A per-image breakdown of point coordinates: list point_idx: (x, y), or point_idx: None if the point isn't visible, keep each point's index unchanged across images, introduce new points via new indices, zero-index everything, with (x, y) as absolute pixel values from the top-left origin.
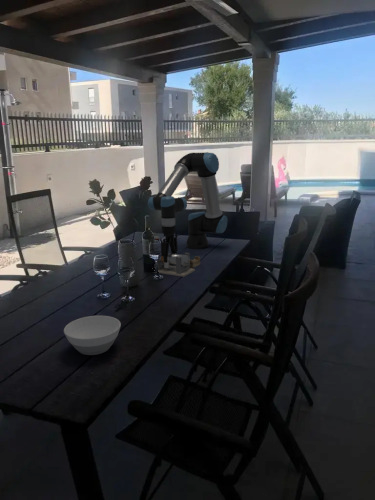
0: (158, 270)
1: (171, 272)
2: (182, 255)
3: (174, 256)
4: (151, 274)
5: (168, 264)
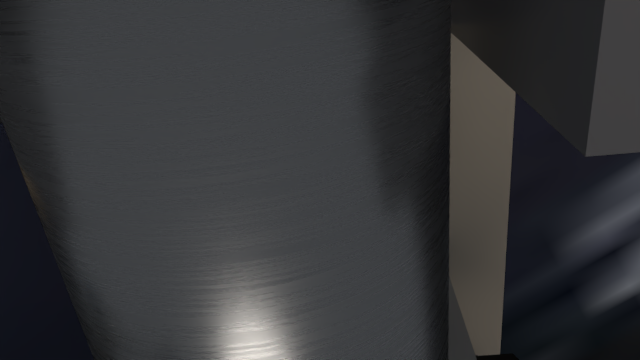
0: (476, 355)
1: (478, 124)
2: (258, 12)
3: (410, 336)
4: (604, 352)
5: (449, 297)
